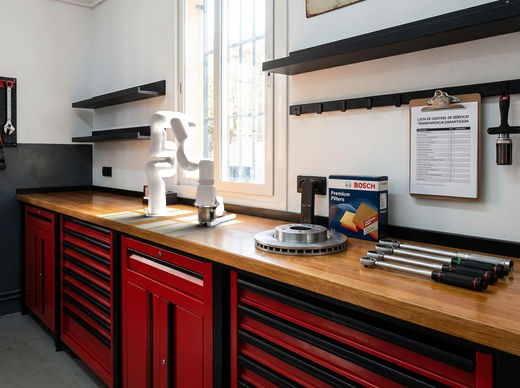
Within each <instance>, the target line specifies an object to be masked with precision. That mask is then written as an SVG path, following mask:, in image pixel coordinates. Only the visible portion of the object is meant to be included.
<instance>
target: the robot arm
mask: <svg viewBox="0 0 520 388" xmlns="http://www.w3.org/2000/svg"><path fill="white" fill-rule="evenodd" d="M149 120H150V121H149V127H150V141H149V155H150V156H151V158H153V160H149V161H147V163H146V165H145V168H144V169H145V174H146V179H147V180H146V181H147V194H148V195H147V199H148V207H145V208H144V209H143V212H146V213H145V215H146V217H155V218H156V217H166V216H169V212H167V208H166V203H167V202H166V184H165V181H164V179H163V177H172V176H173V175H174V174H175V173H176V170H177V168H176V167H177V163H178V166H179V168H180V170H181V172H184V173H187V174H194V173H198V180H196V184H198V185H197V186H196V187H197V188H196V192H195V193H196V195H195V202H194V203H193V205H194V206H195V207H196V208H197V209H198V208H200V207H204V206H210V210H211V212H210V220H212V219H214V211H215V210H216V209H217V208H218V207H219V206H220V204H219V202H218V201H217V197H218V195H217V189H216V185H215V162H214V159H213V158H210V157H209V158H204V157H188V155H187V153H186V148H189V147H190V146H191V145H192V144H193V143H194V141H195V139H194V136H193V134H192V133H193V132H195V131H196V129H197V122H196V120H195V118H194V117H192V116H190V115H186V114H183V113H181V112H172V111H156V112H154V113H152V115H151V117H150V119H149ZM165 128H169V129H171V130H172V133H173V135H174V137H175V140H176V142H177V144H178V145H177V146H176V144H175V143H174V142H172V141H167V132H166V130H165ZM154 159H155V160H154ZM161 159H162V160H161ZM214 205H216V206H214Z"/></svg>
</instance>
